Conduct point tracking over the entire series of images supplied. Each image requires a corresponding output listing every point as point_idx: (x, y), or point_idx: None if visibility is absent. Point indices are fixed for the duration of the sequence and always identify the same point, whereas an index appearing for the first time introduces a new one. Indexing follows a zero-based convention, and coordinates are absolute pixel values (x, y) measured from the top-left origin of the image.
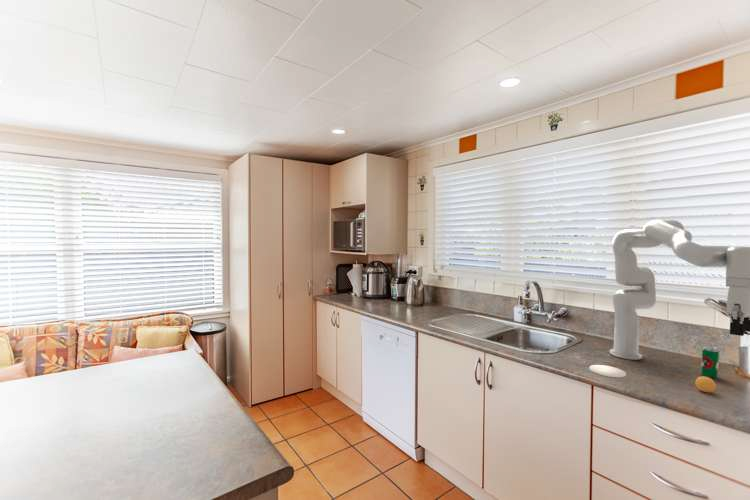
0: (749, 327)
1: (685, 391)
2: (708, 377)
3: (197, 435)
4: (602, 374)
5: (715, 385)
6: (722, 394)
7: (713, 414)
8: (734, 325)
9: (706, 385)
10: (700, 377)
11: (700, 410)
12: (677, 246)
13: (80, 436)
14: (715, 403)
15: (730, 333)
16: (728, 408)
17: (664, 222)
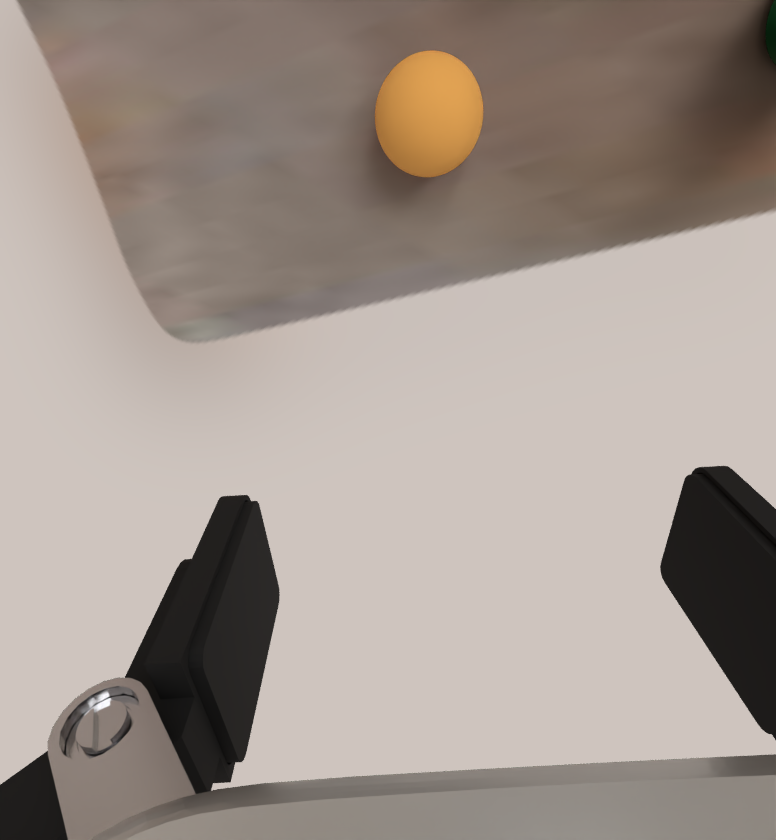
0: (691, 621)
1: (312, 35)
2: (449, 127)
3: None
4: None
5: (427, 176)
6: (466, 195)
7: (125, 256)
8: (142, 671)
9: (379, 139)
10: (415, 84)
11: (105, 204)
12: None
13: None
14: (282, 216)
15: (221, 502)
16: (276, 273)
17: None
